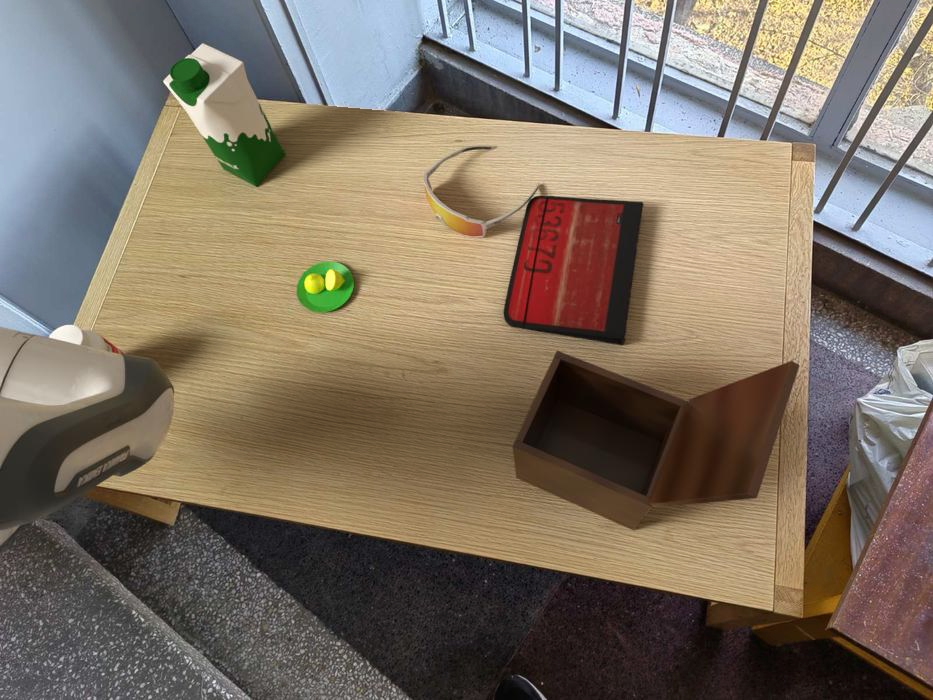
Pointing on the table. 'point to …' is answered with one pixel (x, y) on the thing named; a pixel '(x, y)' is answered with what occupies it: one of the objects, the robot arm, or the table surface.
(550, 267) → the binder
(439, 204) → the sunglasses
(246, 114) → the soya milk
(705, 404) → the chest lid
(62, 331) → the pill bottle
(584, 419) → the chest
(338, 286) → the plate with lemons
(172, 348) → the table surface
